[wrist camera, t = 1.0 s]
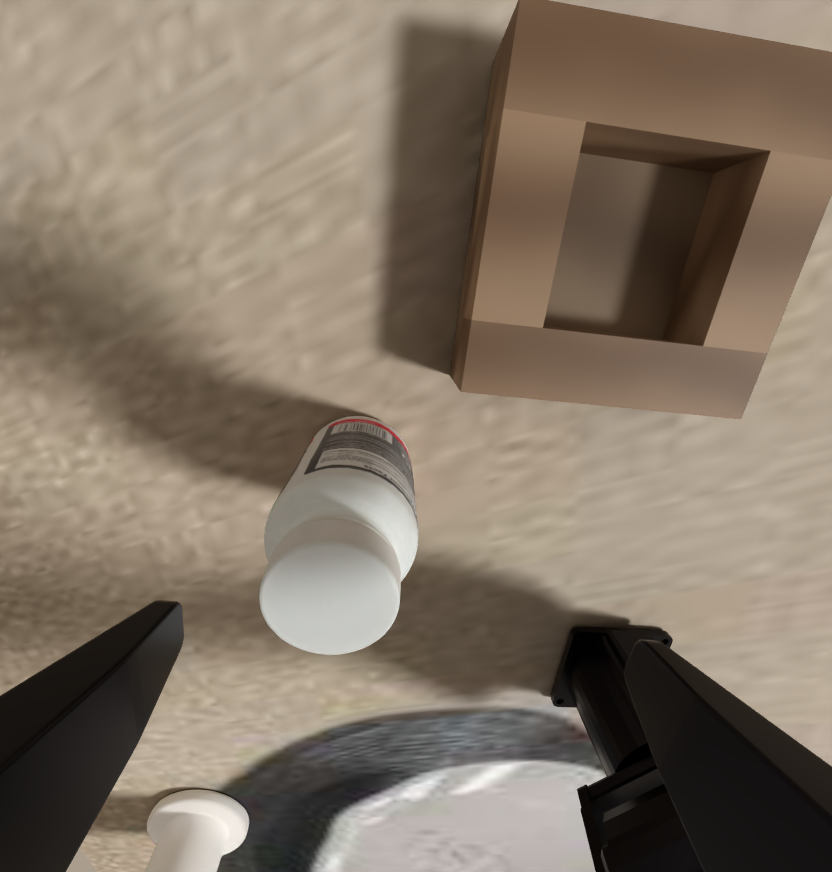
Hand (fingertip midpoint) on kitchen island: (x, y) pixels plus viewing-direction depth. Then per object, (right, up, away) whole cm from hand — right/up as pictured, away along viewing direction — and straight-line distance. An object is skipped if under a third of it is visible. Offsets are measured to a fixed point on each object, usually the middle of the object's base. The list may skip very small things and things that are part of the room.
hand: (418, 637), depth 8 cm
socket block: (+8, +12, +10) cm, 17 cm away
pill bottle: (-3, +3, +13) cm, 13 cm away
